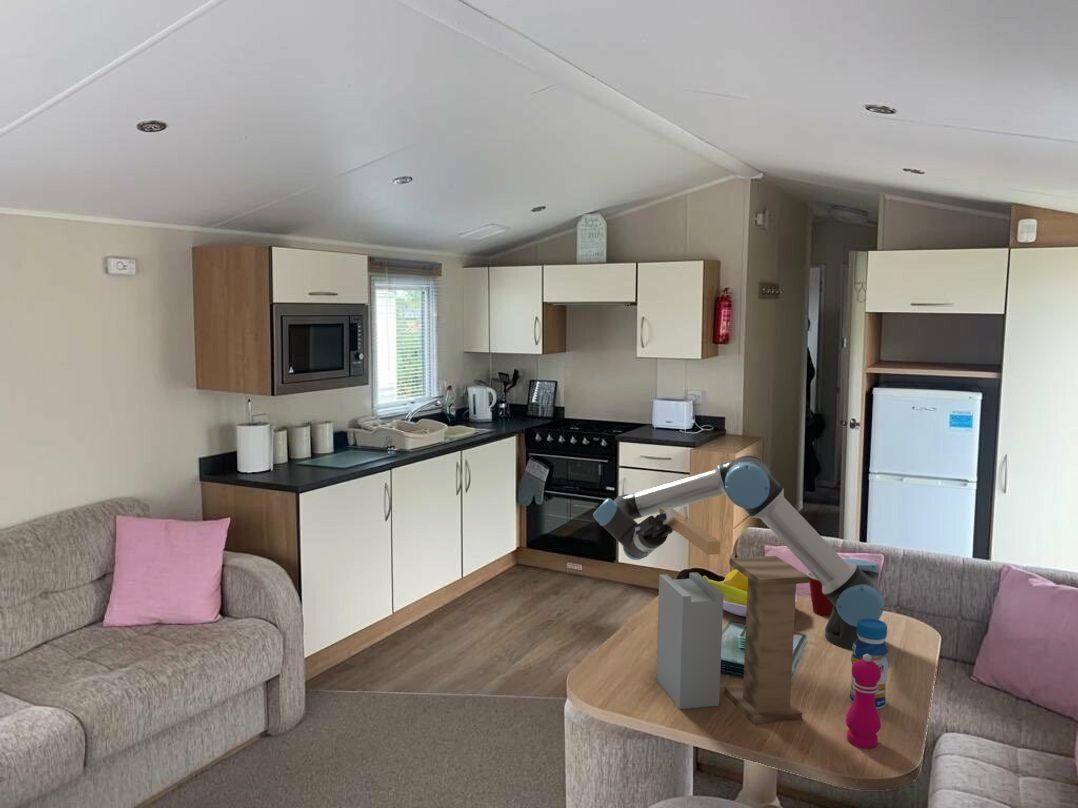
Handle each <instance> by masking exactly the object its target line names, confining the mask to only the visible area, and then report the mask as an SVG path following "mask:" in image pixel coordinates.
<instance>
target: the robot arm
mask: <svg viewBox="0 0 1078 808" xmlns="http://www.w3.org/2000/svg"><path fill="white" fill-rule="evenodd" d="M771 474H772V473H771V469H770V467H769V465H768V464H767V463H766V462H765V461H764V459H762V458H761V457H758V456H756V455H751V454H749V455H748V454H747V455H742V456H740V457H737V458H735V459H731V460H729V461H727V462H723V463H720V464H718V465H717V467H716V468H715V469H713V470H708V471H705V472H701V473H698V474H695V475H691V476H688V477H684V478H681V479H678V480H674V481H670V482H667V483H664V484H661V485H657V486H654V487H650V488H648V489H647V488H646V489H644V490H639V491H637V492H634V493H630V494H629V493H628V494H627V493H624V494H620V495H618V496H617V497H616V498H615V499H614V500H613V499H612V498H609V497H608V498H606V499H605V500H604V501H603V502H601V503H602V504H600V505H599V507H597V508H596V510H595V511H594V512H593V514H592V516H593V518H594V520H595V521H596V522H597V523H598V524H599V525H600V526H601V527H603V529H605V530H606V532H608V533H609V534H610V536H612V537H613V538H614V539H615V540H616V541H617V542H618V543H620V545H622V549H623V553H624V554H625V556H626V557H628V558H629V559H631V560H635V561H640V560H642V559H644V558H647V557H648V556H649V555H650V554H651V553H652V552H653V551H655V550H656V549H658V548H659V547H660V546H661V545H663V544H664V543H665V542H666V541H667V539H668V536H669V535H671V534H672V533H673V532H676V531H675V530H674V529H672V528H671V527H670V526H668V525H667V523H668V522H669V521H670V520H672V519H673V518H674V513H673V509H674V508H675V509H677V508H680V507H681V508H680V509H679V510H678V511H677V512H678V513H680V514H681V515H683V516H684V517H686V518H687V519H689V518H688V517H689V515H688V514H689V513H688V509H687V505H690V504H694V503H697V502H700V501H705V500H708V499H712V498H715V497H718V496H723V495H724V496H727V497H728V499H729V500H730V501H731V502H732V503H733V504H734V505H736V506H737V507H740V508H742V509H743V510H744V511H745V512H746V513H747V514H748V515H749V516H750V518H755V519H760V520H761V521H762V522H763V523H764V524H765V525H766V526H767V527H768V528H769V529H770V530H771V531H772V533H774V535H775V536H776V537H777V538H778V539H779V540H780V541H781V542H782V543H783V544H784V545H785V546H786V547H787V549H788V550H789V551H791V553H793V555H794V556H795V557H796V558H797V559H798V561H800V562H801V563H802V564H803V565H804V567H806V568H807V570H808V571H809V572H811V573H812V574H813V575H814V576H815V577H816V578H817V579H818V580H819V581H820V582H821V583H822V592H823V594H824V595H825V596H826V597H827V598H828V599H829V600H830V601H831V602H832V603H833V611H832V614H831V615H829V619H828V621H827V623H826V626H825V628H824V629H825V630H824V637H825V639H826V640H827V641H828V642H830V643H832V644H833V645H836V646H838V647H841V648H845V649H850V650H852V646H853V644H854V642H855V640H856V639H857V638H858V637H859V636H858V635H857V622H858V620H859V619H862V618H872V619H877V620H880V619H881V617H882V615H883V612H884V606H885V601H884V597H883V595H882V591H881V588H880V585H879V579H880V578H879V576H880V574H881V572H880V566H879V564H878V563H875V562H873V561H870V560H864V559H858V558H843V557H842V556H841V555H840V554H838V552H836V550H835V549H834V548H833V547H832V546H831V545H830V544H829V543H828V542H827V541H826V540H825V539H824V538H823V537H822V536H821V535H820V534H819V533H818V532H817V531H816V529H815V528H814V527H813V526H812V525H811V524H810V523H809V522H808V521H807V519H805V518H804V517H803V516H802V515H801V514H800V513H799V511H798V510H797V509H796V508H795V507H794V506H793V504H791V503H790V502H789V501H788V500H787V499H786V498H785V496H784V493H785V492H784V491H785V490H784V488H783V487H782V485H780V483H779V482H778V481H777V480H776V479H775V478H774V477H773V476H772V475H771ZM685 505H686V506H685ZM662 507H669V508H668V509H667V510H666V511H665V512H663V513H662V514H660V508H662ZM657 513H659V514H657ZM654 514H657V515H656V516H654ZM644 517H647V518H645V519H643V520H641V522H640V523H638V522H637V521H636V520H637V519H639V518H640V519H641V518H644Z"/></svg>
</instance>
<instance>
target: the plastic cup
mask: <svg viewBox="0 0 1078 808" xmlns="http://www.w3.org/2000/svg"><path fill="white" fill-rule="evenodd" d="M806 575H808V576H809V583H808V584H809V590H810V598H811V599H810V600H811V604H812V605H811V606H812V610H813V611H812V612H813V613H814V614H816V615H818V614H820V615H819V616H823V615H829V616H831V614H832V611H833V603H832V602H831V601H830V600H829V599H828V598H827V597H826V596H825V595H824V594H823V592H822V583H821V582H820V581H819V580H818V579H817V578H816V577H815V576H814V575H813V574H812V573H811V572H810V571H809V572H807V573H806Z"/></svg>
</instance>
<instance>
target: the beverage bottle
mask: <svg viewBox="0 0 1078 808" xmlns="http://www.w3.org/2000/svg"><path fill="white" fill-rule="evenodd" d="M857 635H858V636H859V637H858V638H857V639H856V640H855V642H854V644H853V646H852V649H851V650H852V652H853V653H852V654H851V656H850V662H851V667H852V666H853V664H854V663H855V662H856V661H858V660H862V659H863V655H865V654H869V655H870V656H871V658H872V659H871V661H873V662H875V663H876V664H877V665H878V666H879V668H880V670H881V678H880V680H879V681H878V682H877V684H878V687H877V689H878V691H877V692H875V706H876V709H877V710H879V709H883V708H884V707H885V706H886V705H887V704H886V703H887V698H886V694H887V693H886V692H887V681H888V679H887V678H888V668H889V665H890V661H889V659H888V657H889V655H890V650H889V646H888V645H887V643H886V641H885V640H886V639H887V637H888V636H887V635H888V625H887V623H886V622H885V621H883V620H880V619H879V620H877V619H872V618H862V619H859V620H858V622H857ZM850 671H851V673H850V675H851V676H850V690H849V702H851V704H852V703H853V701H854V698H855V689H854V687H853V685H854V683H853V681H854V680H855V679H854V677H853V675H852V670H850Z"/></svg>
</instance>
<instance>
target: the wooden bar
mask: <svg viewBox="0 0 1078 808" xmlns="http://www.w3.org/2000/svg"><path fill="white" fill-rule="evenodd" d="M668 508H669V507H662V508H660V512H659V515H660V514H662V513H663V512H665V511H666V510H667V509H668ZM673 513H674V518H673V519H672V520H670V521H669V522H668V523H667V525H668V526H670V527H671V528H672V529H674V530H675V531H674V532H675V533H677V534H679V535H680V536H681V537H683V538H684V539H685V540H687V541H688V542H690V543H691V544H692V545H694V547H697V548H698V549H699V550H701V551H702V552H703V553H705V554H706V555H709V556H711V555H720V553H721V541H720V540H719V539H718V538H717V537H715V536H714V535H712V534H710V533H709V532H708V531H706V530H705V529H703V528H702V527H701V526H699V525H697V524H696V523H694V522H693V521H692V520H690V519H689V518H688V519H687V518H686V517H684V516H683V515H681V514H680V513H678V511H677V510H675V509H674V508H673Z"/></svg>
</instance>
